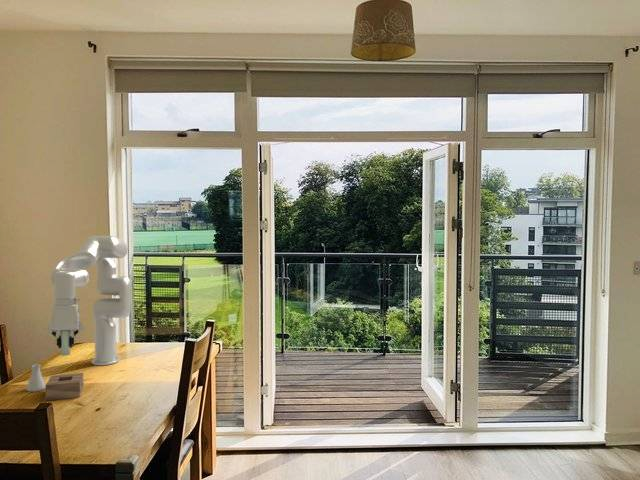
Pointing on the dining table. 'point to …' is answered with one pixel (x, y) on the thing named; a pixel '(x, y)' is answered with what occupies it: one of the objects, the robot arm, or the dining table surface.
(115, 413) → the dining table surface
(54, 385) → the socket block
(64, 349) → the peg
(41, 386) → the flask
